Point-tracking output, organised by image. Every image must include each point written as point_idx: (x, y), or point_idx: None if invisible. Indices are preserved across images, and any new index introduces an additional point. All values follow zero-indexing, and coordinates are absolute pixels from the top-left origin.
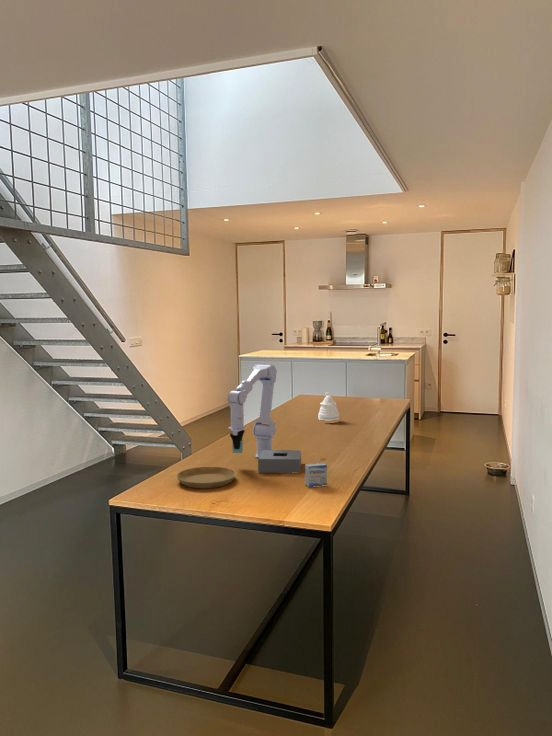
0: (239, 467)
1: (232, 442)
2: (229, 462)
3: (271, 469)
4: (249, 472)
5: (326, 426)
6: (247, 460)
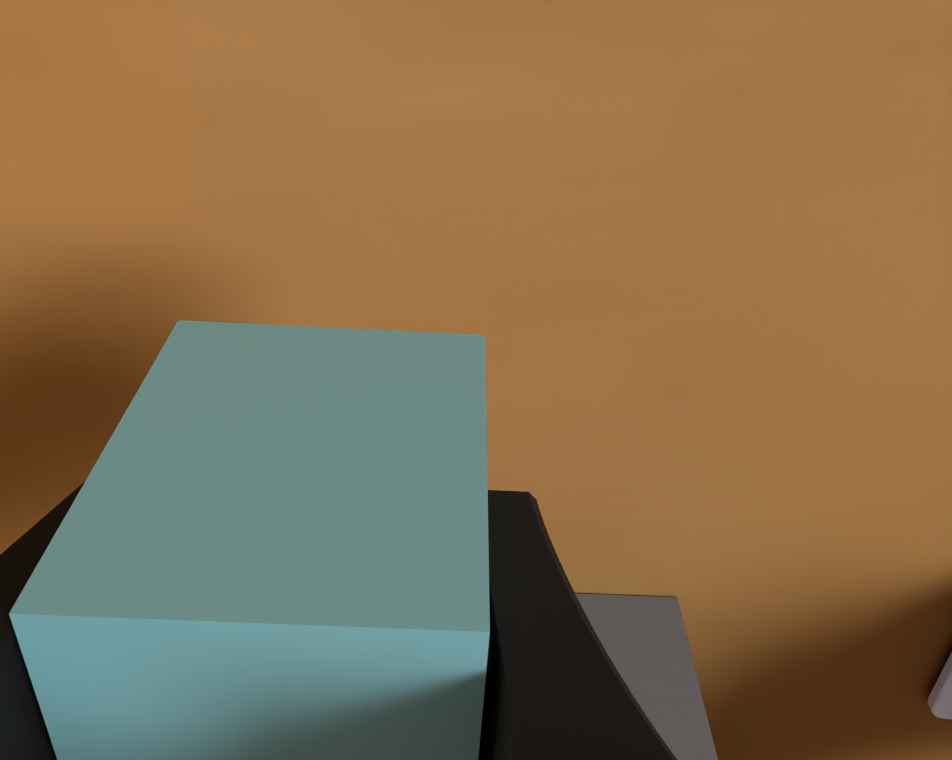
0: (370, 273)
1: (23, 594)
2: (818, 5)
3: None
4: (58, 459)
5: None
6: (890, 381)
